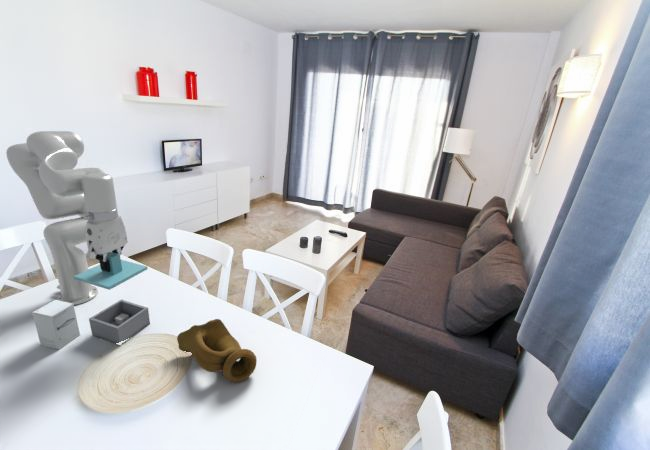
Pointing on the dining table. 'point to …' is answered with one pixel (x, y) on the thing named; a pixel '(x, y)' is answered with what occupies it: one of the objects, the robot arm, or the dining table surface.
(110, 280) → the lid
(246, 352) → the brown looped sculpture
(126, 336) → the tub
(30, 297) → the dining table surface
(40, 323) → the supplement box
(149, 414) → the dining table surface
